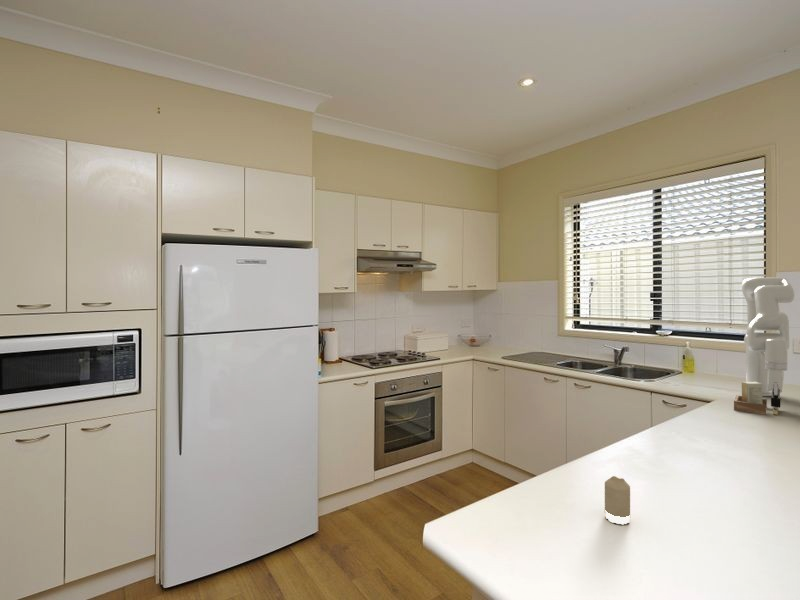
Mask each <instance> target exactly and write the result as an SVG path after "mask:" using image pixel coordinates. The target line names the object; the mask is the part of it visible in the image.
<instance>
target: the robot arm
mask: <svg viewBox="0 0 800 600" xmlns="http://www.w3.org/2000/svg"><path fill="white" fill-rule="evenodd" d="M741 290H742V294H743V296H744V298H745V301H746V305H747V306H746V308H747V311H746V312H747V313H746V315H747V320H746V321H747V327H746V334H745V335H744V338H743V343H744V349H745V357H746V360H745V364H746V365H745V372H746V373H745V382H758V383H762V397H770V407H772V408H773V406H778V409H779V408H781V406H782V405H781V404H782V403H781V400H782V399H781V393H782V392H783V387H784V376H785V375H784V372H785V371H786V372H787V371H788V351H789V348H790V320H789V317H788V315H787V314H786V313H785V312H782V311H780V306H779V305H780V303H783V304H786V303H787V304H789V303H790V304H791V303H792V302H793V301H794V299H795V290H794V288H793V286H792V284H791V283H790V282H789V281H788V279H787V278H785V277H782V276H781V277H780V276H777V277H776V276H775V277H774V276H773V277H770V276H769V277H751V278H746V279H744V280H743V281H742V283H741ZM755 330H757V331H774V332H757V331H755Z"/></svg>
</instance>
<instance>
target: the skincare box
mask: <svg viewBox="0 0 800 600" xmlns="http://www.w3.org/2000/svg"><path fill="white" fill-rule="evenodd" d="M741 396H742V402H749V403H757V404H762V399H763V396H762V383H758V382H746V381H741Z"/></svg>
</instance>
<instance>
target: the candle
mask: <svg viewBox="0 0 800 600" xmlns="http://www.w3.org/2000/svg"><path fill="white" fill-rule="evenodd" d="M605 510H606V511H607V512H608V513H610V514H612V515H614V516H620V517H626V516H629V515H630V516H631V485H630V484H628V483H627V481H626V480H625V478H622V477H621V478H619V477H617V476H616V475H613V476H611V477H609V478H608V479H606V480H605V481H604V511H605Z"/></svg>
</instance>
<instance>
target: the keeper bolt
mask: <svg viewBox="0 0 800 600" xmlns="http://www.w3.org/2000/svg"><path fill="white" fill-rule="evenodd" d="M772 415H777V416H779V407H778V406H773V407H772Z"/></svg>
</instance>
